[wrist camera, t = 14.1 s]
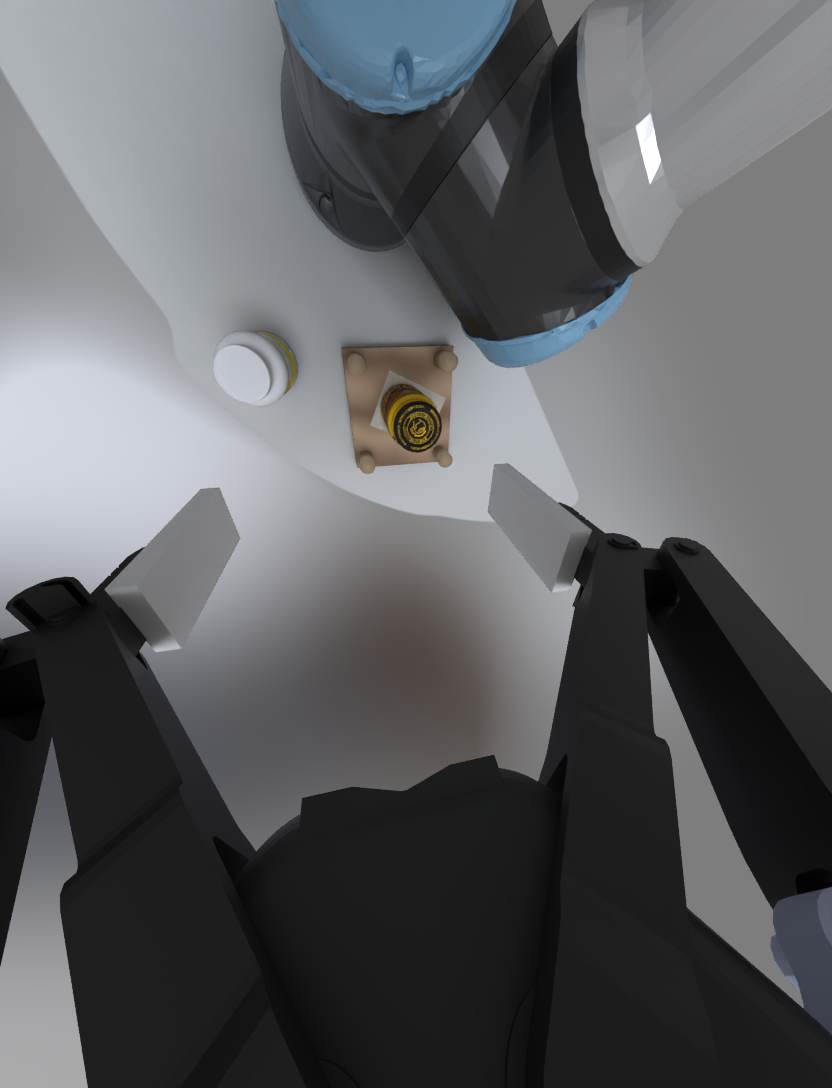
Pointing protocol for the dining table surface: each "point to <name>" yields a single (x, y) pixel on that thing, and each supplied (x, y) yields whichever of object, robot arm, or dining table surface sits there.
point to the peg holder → (365, 388)
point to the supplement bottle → (254, 367)
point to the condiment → (409, 413)
